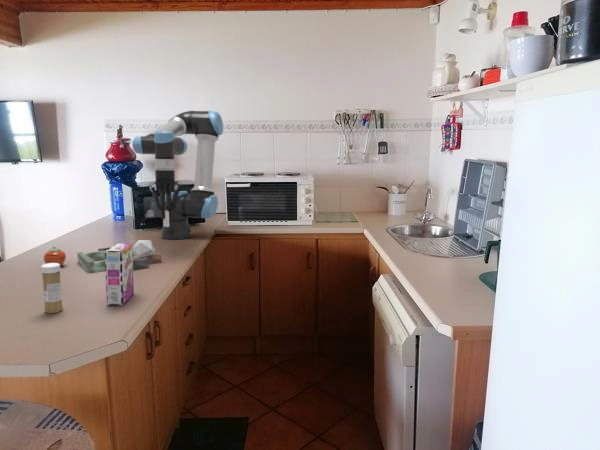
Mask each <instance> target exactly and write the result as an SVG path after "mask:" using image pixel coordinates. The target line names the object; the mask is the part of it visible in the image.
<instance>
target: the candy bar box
mask: <svg viewBox="0 0 600 450" xmlns="http://www.w3.org/2000/svg"><path fill="white" fill-rule="evenodd" d="M110 247H111V248H109V247H108V248H109V249H108V250H106V251H105V260H104V261H105V266H106V271H105V285H106V291H105V292H106V306H124V305H125V303H127V301H128V300H129V299H130V298H131V297H132V296H133V295H134V293H135V291H134V290H135V289H134V288H135V287H134V285H135V284H134V270H133V260H134V258H133V257H134V256H133V251H132V247H133V243H116V244H114V245H113V246H110Z"/></svg>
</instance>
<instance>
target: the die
mask: <svg viewBox="0 0 600 450" xmlns="http://www.w3.org/2000/svg"><path fill="white" fill-rule="evenodd" d="M132 247H133V248H132V251H133V254H134V256H133V257H135V260H139V259H140V256H144V255H151V254H156V253H155V252H156V249H155V247H154V244H153V243H152V240H150V239H149V240H147V239H146V240H145V239H138V240H137V241H136V242H135V244H134V245H132Z"/></svg>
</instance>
